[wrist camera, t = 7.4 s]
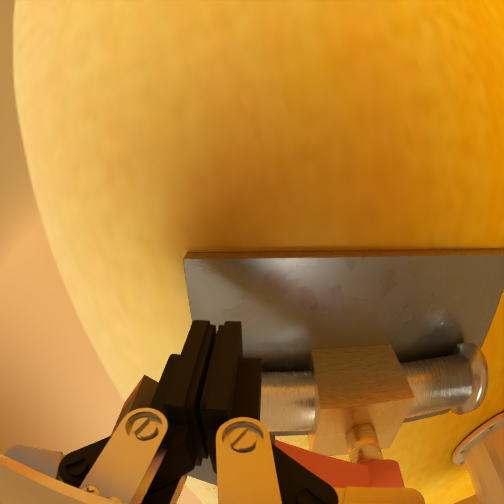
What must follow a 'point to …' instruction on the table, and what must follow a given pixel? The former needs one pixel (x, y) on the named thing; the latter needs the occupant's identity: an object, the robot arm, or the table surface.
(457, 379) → the valve
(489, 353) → the table surface
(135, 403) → the lever
